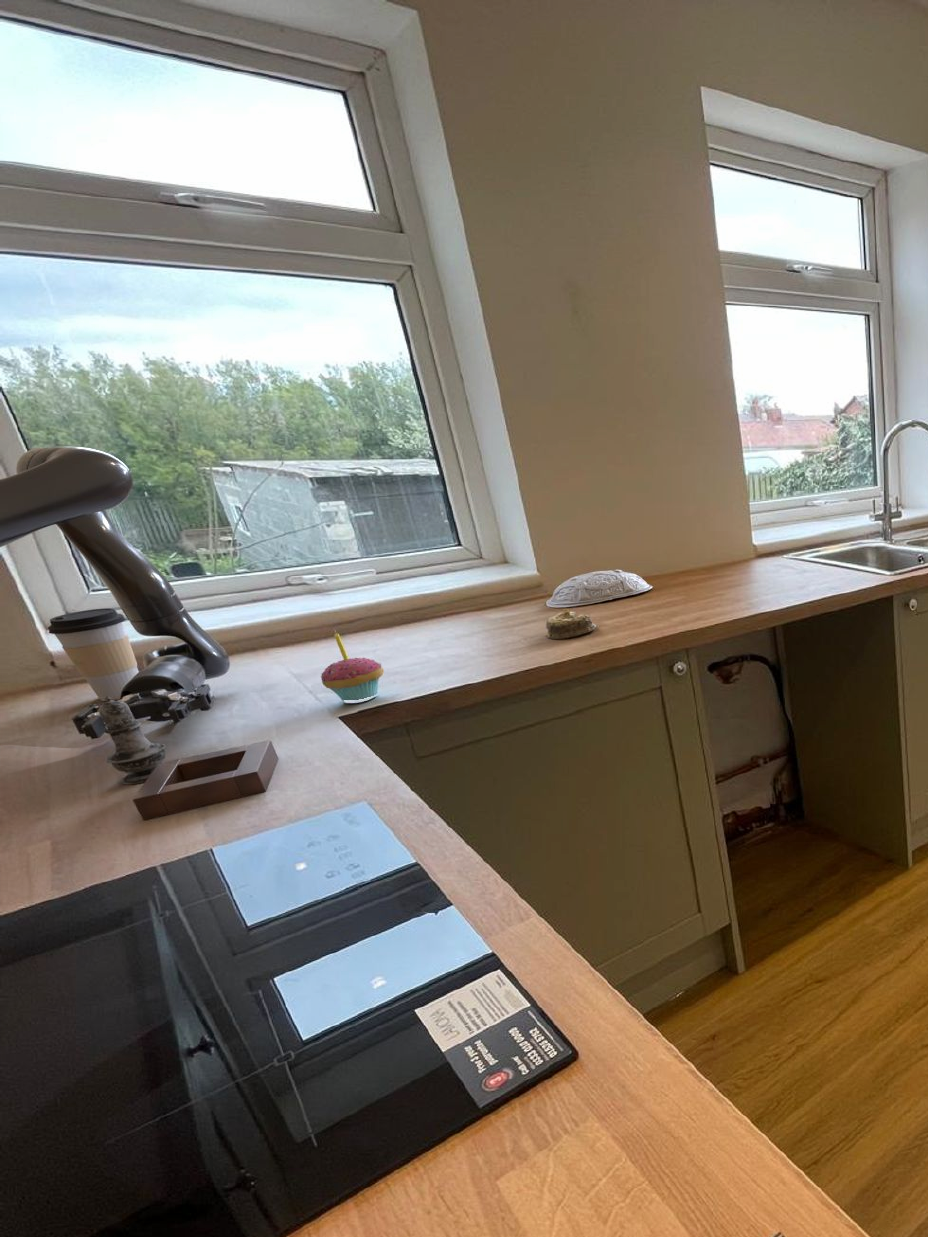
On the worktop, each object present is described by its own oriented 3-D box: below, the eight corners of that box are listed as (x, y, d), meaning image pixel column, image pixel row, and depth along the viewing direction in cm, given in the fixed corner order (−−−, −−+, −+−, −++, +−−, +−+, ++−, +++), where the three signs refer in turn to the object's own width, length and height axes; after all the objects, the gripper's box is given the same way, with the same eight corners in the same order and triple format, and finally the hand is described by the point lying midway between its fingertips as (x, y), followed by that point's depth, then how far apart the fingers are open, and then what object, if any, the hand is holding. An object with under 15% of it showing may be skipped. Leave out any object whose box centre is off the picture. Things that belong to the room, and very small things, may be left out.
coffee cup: (71, 704, 134) (27, 622, 128) (131, 684, 143) (92, 606, 137) (114, 706, 133) (71, 622, 127) (173, 685, 141) (135, 607, 135)
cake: (565, 644, 156) (557, 619, 154) (537, 638, 161) (528, 614, 159) (607, 627, 163) (599, 603, 161) (578, 622, 168) (571, 599, 166)
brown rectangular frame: (143, 820, 95) (131, 799, 94) (167, 783, 104) (157, 763, 103) (266, 791, 101) (256, 771, 99) (278, 758, 110) (270, 739, 109)
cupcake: (326, 700, 131) (299, 633, 126) (384, 686, 136) (361, 621, 131) (337, 713, 125) (310, 643, 120) (397, 697, 131) (373, 629, 126)
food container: (540, 596, 189) (535, 569, 186) (644, 583, 203) (641, 559, 200) (552, 615, 178) (547, 588, 175) (661, 601, 191) (659, 575, 188)
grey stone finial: (175, 761, 110) (137, 684, 106) (177, 774, 107) (137, 694, 102) (118, 776, 107) (76, 696, 102) (118, 790, 103) (73, 708, 98)
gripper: (88, 678, 115) (48, 712, 102) (212, 657, 122) (189, 687, 109) (112, 724, 118) (76, 762, 105) (231, 701, 125) (211, 735, 112)
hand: (133, 724), depth 107 cm, fingers open, 8 cm apart
